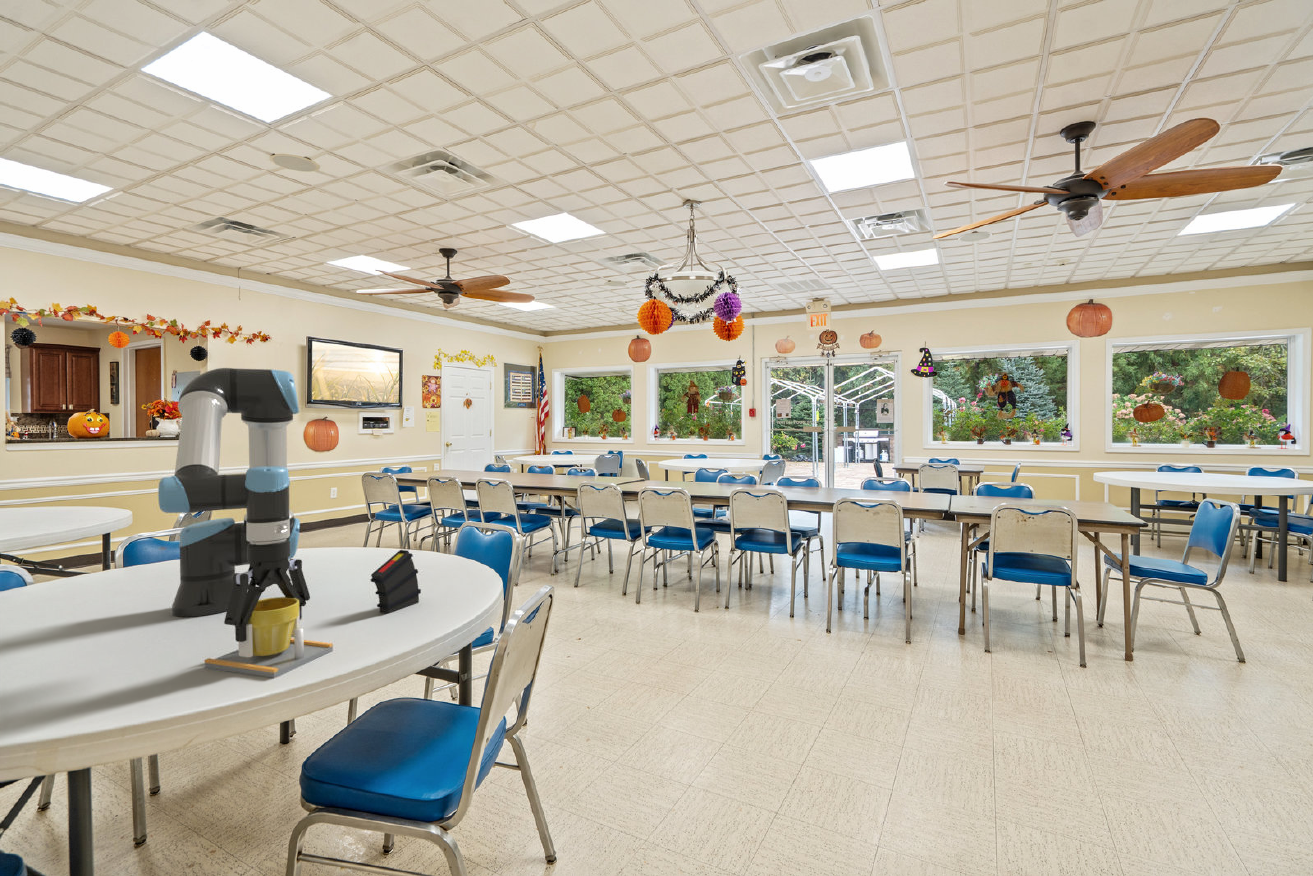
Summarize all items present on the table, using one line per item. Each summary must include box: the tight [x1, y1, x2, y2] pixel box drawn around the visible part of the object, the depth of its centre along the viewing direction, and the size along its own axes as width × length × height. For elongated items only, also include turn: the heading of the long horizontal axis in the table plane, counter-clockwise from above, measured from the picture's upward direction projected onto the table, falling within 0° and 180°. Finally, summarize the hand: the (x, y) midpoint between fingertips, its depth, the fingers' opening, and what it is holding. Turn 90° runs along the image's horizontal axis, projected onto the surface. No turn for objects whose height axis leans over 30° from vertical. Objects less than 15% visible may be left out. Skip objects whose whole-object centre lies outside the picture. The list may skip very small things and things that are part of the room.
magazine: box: [370, 549, 422, 614], centre depth 155 cm, size 4×13×15 cm, turn 157°
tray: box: [203, 627, 334, 679], centre depth 121 cm, size 18×14×7 cm
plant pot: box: [242, 596, 299, 656], centre depth 121 cm, size 10×10×10 cm
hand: (270, 645), depth 121 cm, fingers closed on plant pot, 10 cm apart
